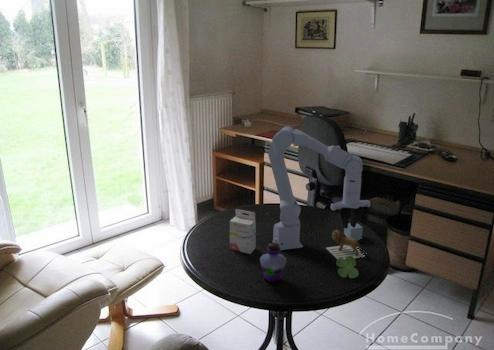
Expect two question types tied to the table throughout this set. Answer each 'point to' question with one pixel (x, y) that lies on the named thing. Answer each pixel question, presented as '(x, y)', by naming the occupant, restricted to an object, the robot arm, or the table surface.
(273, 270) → the potion bottle
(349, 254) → the white slatted trivet
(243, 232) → the ink cartridge box
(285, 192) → the robot arm
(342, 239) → the lion figurine
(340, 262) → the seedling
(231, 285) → the table surface
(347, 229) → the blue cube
